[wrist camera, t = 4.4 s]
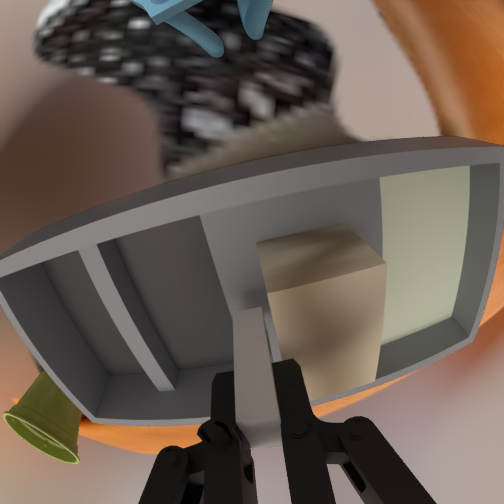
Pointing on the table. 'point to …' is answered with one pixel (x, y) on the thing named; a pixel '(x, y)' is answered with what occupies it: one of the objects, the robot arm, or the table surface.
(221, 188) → the tray
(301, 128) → the table surface
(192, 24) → the chair
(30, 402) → the plant pot
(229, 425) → the robot arm
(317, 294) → the birch block
